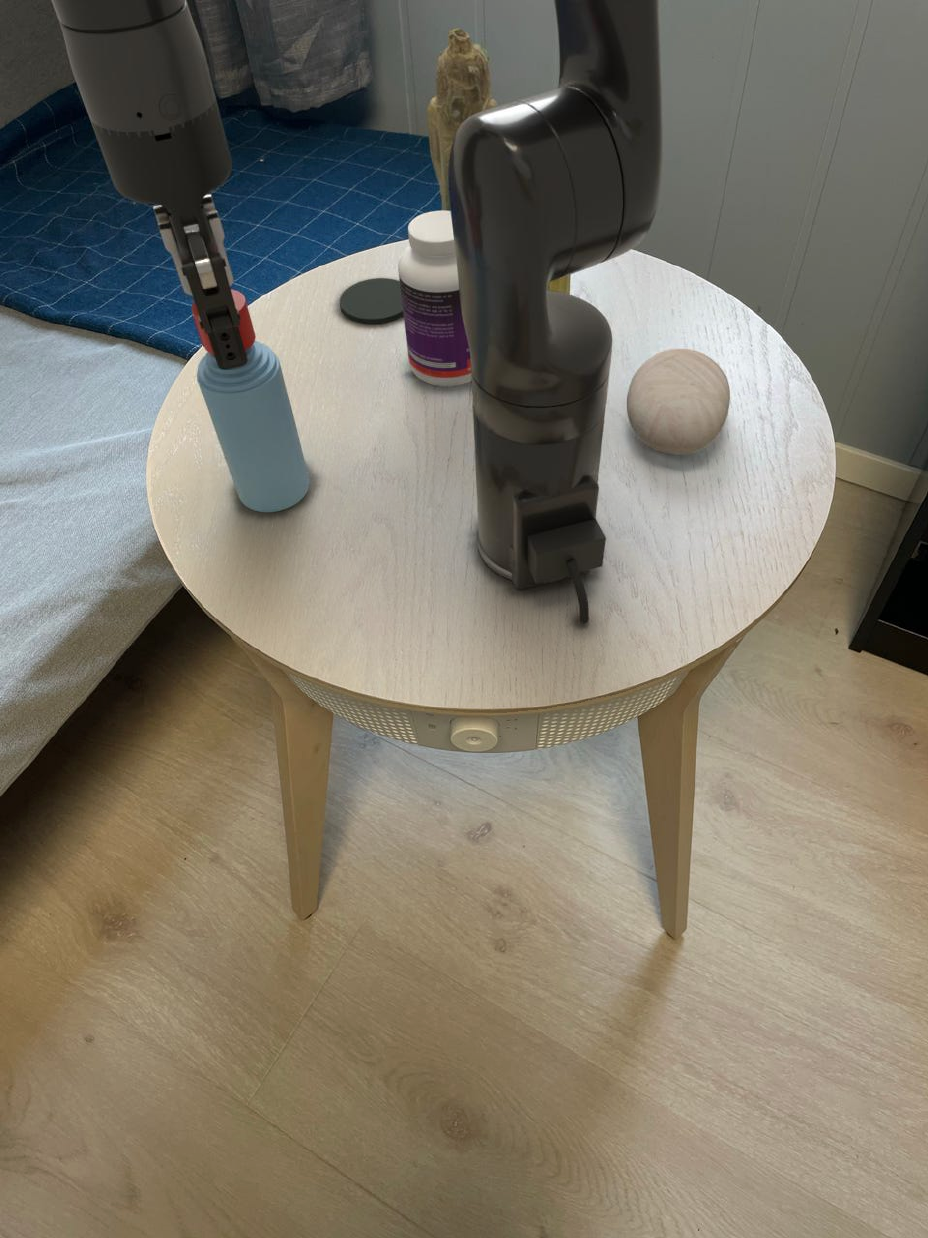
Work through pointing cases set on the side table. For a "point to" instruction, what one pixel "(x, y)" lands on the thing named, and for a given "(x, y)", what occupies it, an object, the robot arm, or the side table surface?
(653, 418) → the decorative stone
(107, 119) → the robot arm
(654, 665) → the side table surface
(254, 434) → the bottle
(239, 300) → the cap
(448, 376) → the pill bottle
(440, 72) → the statue
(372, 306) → the coaster
